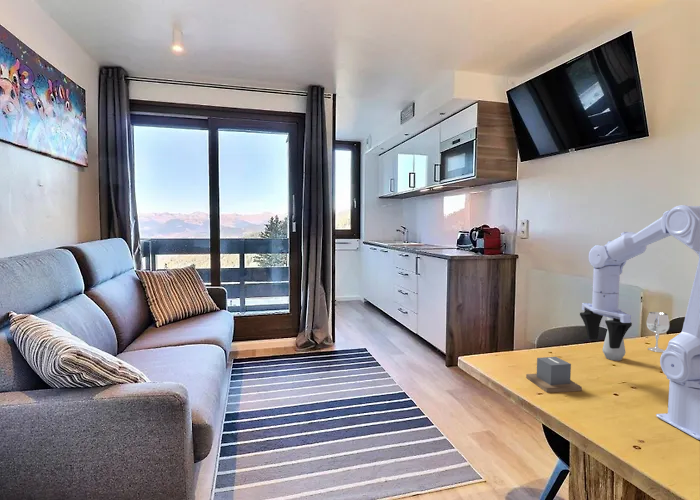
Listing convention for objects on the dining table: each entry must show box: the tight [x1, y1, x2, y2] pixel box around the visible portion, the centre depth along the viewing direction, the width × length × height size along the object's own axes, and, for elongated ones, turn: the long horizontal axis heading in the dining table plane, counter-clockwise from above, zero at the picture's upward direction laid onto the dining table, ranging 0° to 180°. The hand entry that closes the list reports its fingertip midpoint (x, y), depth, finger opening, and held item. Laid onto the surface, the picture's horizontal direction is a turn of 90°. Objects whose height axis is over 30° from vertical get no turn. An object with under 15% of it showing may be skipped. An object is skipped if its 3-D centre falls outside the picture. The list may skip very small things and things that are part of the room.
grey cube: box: [536, 356, 572, 385], centre depth 98 cm, size 5×5×5 cm
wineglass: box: [646, 311, 670, 353], centre depth 125 cm, size 6×6×12 cm
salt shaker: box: [602, 317, 626, 362], centre depth 117 cm, size 6×6×13 cm
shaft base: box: [525, 373, 583, 393], centre depth 98 cm, size 9×9×4 cm
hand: (603, 343), depth 101 cm, fingers open, 7 cm apart
